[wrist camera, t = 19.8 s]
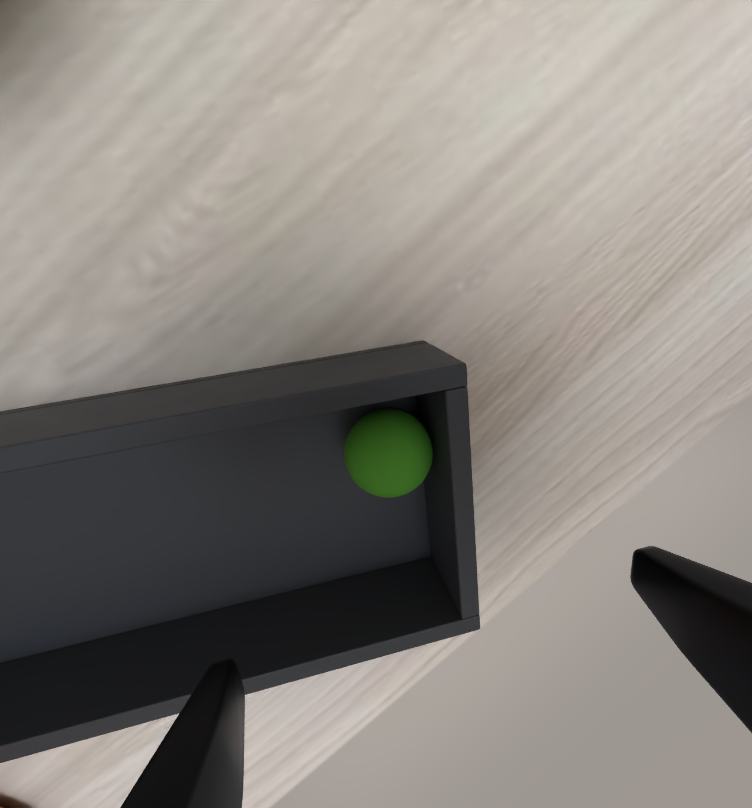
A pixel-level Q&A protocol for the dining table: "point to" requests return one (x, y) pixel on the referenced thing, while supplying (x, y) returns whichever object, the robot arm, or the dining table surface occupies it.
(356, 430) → the pea
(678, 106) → the dining table surface
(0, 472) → the tray
